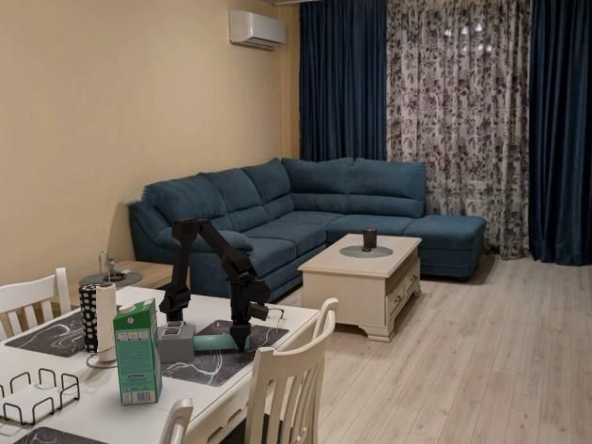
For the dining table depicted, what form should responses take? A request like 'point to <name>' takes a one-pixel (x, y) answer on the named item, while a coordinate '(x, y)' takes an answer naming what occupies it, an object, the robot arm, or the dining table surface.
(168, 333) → the plunger
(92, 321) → the spotted tube
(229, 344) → the cartridge
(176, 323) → the plunger
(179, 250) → the robot arm
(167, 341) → the housing
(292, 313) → the dining table surface
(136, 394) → the milk carton
